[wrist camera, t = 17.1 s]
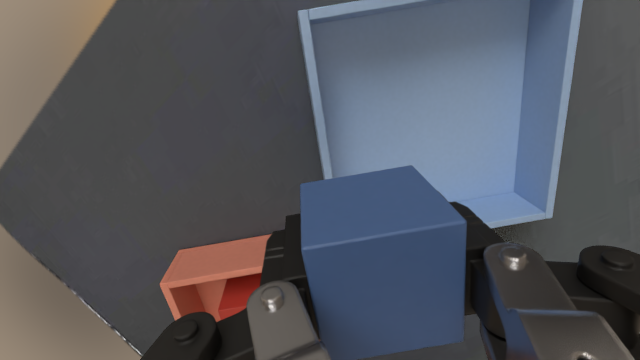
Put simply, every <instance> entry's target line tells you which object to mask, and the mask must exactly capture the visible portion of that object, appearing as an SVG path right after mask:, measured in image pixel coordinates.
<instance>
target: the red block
mask: <svg viewBox="0 0 640 360" xmlns="http://www.w3.org/2000/svg"><path fill="white" fill-rule="evenodd" d="M261 274H262V273H259V274H253V275H247V276H242V277H236V278H230V279H227V281H226V284H225V288H224V291H223V295H222V298H221V301H220V305H219V308H218V313H219V316H220V319H221V320H223V319H225V318H227V317H230V316H232V315H234V314H236V313H238V312H240V311H242V310H244V309H245V308H246V304H247V300H248V298H249V296H250V295H251V294H252V292H253V291H255V290H256V289H257V288H258V287H259V286H260V280H261Z"/></svg>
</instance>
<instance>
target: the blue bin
mask: <svg viewBox="0 0 640 360" xmlns="http://www.w3.org/2000/svg"><path fill="white" fill-rule="evenodd" d="M582 3H583V0H360V1H354V2H348V3H342V4H336V5H330V6H324V7H318V8H312V9H308V10H307V9H306V10H300V11H298V16H297V20H298V27H299V33H300V39H301V45H302V51H303V57H304V63H305V69H306V76H307V82H308V88H309V94H310V100H311V106H312V112H313V119H314V125H315V131H316V137H317V143H318V149H319V155H320V161H321V168H322V174H323V180H326V179H332V178H338V177H344V176H350V175H356V174H362V173H368V172H374V171H379V170H385V169H391V168H397V167H403V166H409V165H412V166H413V167H414V168H415V169H416V170H417V171H418V172H419V173H420V174H421V175H422V176H423V177H424V178H425V179H426V180H427V181H428V182H429V183H430V184H431V185H432V186H433V187H434V188H435V189H436V190H437V191H439V192H440V193H441V194H442V195H443V196H444V197H445V198H446V199H447V201H448V202H454V201H455V202H458V203H460V204H462V205H464V206H467V207H468V208H469V209H470V210H472V211H473V212H474V213H475V214H476V216H478V217H479V218H480V219H481V220H482V221H483V223H485V224H487V225H488V226H489V227H490V228H496V227H501V226H507V225H513V224H519V223H524V222H530V221H536V220H542V219H548V218H552V215H553V208H554V201H555V194H556V187H557V180H558V173H559V166H560V159H561V152H562V145H563V137H564V130H565V123H566V116H567V109H568V102H569V95H570V88H571V81H572V74H573V67H574V60H575V53H576V46H577V39H578V32H579V25H580V17H581V10H582Z"/></svg>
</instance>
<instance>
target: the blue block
mask: <svg viewBox="0 0 640 360" xmlns="http://www.w3.org/2000/svg"><path fill="white" fill-rule="evenodd" d="M300 217H301V252H302V257H303V261H304V266H305V271H306V276H307V280H308V285H309V290H310V294H311V299H312V304H313V308H314V313H315V318H316V322H317V327H318V332H319V337H320V341H323V343H324V344H325V346H326V348H327V351H328V353H329V355H330V358H331V360H357V359H363V358H369V357H375V356H381V355H387V354H393V353H399V352H404V351H410V350H416V349H422V348H428V347H434V346H440V345H446V344H452V343H458V342H462V341H464V316H465V275H466V234H467V222H466V220H465V219H464V218H463V217H462V216H461V215H460V214H459V213H458V212H457V211H456V210H455V208H454V207H453V206H452V205H451V204H450V203H449V202H448V201H447V200H446V199H445V198H444V197H443V196H442V195H441V194H440V193H439V192H438V191H437V190H436V189H435V188H434V187H433V186H432V185H431V184H430V183H429V182H428V181H427V180H426V179H425V178H424V177H423V176H422V175H421V174H420V173H419V172H418V171H417V170H416V169H415V168H414V167H413V166H412V165H409V166H403V167H397V168H391V169H385V170H379V171H374V172H368V173H362V174H356V175H350V176H344V177H338V178H332V179H326V180H320V181H314V182H308V183H302V184H300Z"/></svg>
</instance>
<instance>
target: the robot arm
mask: <svg viewBox="0 0 640 360" xmlns="http://www.w3.org/2000/svg"><path fill="white" fill-rule="evenodd" d="M438 192H439V191H438ZM439 193H440V192H439ZM440 194H441V193H440ZM441 195H442V194H441ZM442 196H443V195H442ZM443 197H444V196H443ZM444 198H445V197H444ZM445 199H446V198H445ZM446 200H447V199H446ZM449 203H450V204H451V205H452V206H453V207H454V208H455V210H456V211H457V212H458V213H459V214H460V215H461V216H462V217H463V218H464V219H465V220H466V222H467V234H466V275H465V315H471V314H477V315H478V317H479V318H480V334H481V338H482V341H483V344H484V348H485V351H486V355H487V358H488V360H640V334H639V332H640V255H639V254H637V253H634V252H631V251H629V250H625V249H622V248H617V247H612V246H591V247H587V248H585V249H583V250H582V251H581V252H580V256H579V261H578V263H573V262H551V261H544V259H543V258H542V256H541V255H540V254H539V253H537V252H536V251H534V250H533V249H531V248H529V247H526V246H523V245H520V244H515V243H506V242H505V241H504V240H503V239H501V238H500V237H499V236H498V235H497V234H496V233H495V232H494V231H493V230H492V229H491V228H490V227H489V226H488V225H487V224H485V223H483V221H482V220H481V219H480V218H479V217H478V216H476V214H475V213H474V212H473V211H472V210H470V209H469V208H468V207H467V206H464V205H462V204H460V203H458V202H455V201H454V202H449ZM319 340H320V337H319V332H318V327H317V322H316V318H315V313H314V308H313V304H312V299H311V294H310V290H309V285H308V280H307V276H306V271H305V266H304V261H303V257H302V252H301V217H300V214H295V215H289V216H286V225H285V230H280V231H275V232H273V233H272V235H271V236H270V237H269V238H268V240H267V242H266V249H265V255H264V261H263V267H262V274H261V280H260V286H259V287H258V288H257V289H256V290H255V291H253V292H252V294H251V295H250V296H249V298H248V300H247V304H246V308H245V309H244V310H242V311H240V312H238V313H236V314H234V315H232V316H230V317H227V318H225V319H223V320H220V321H218V322H216V320H215V318H214V317H213V315H211V314H210V313H207V312H194V313H190V314H187V315H185V316H183V317H180V318H179V319H177V320H176V321H174V322H173V323H171V324H170V325H169V326H168V327H167V328H166V329H165V330H164V331H163V333H162V334H161V335H160V336H159V337H158V339H157V340H156V341H155V342H154V343H153V345H152V346H151V347H150V348H149V349H148V351H147V352H146V353H145V354H144V356H143V357H142V358H141V359H140V360H331V358H330V355H329V353H328V351H327V348H326V346H325V344H324V343H323V341H319Z"/></svg>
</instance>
